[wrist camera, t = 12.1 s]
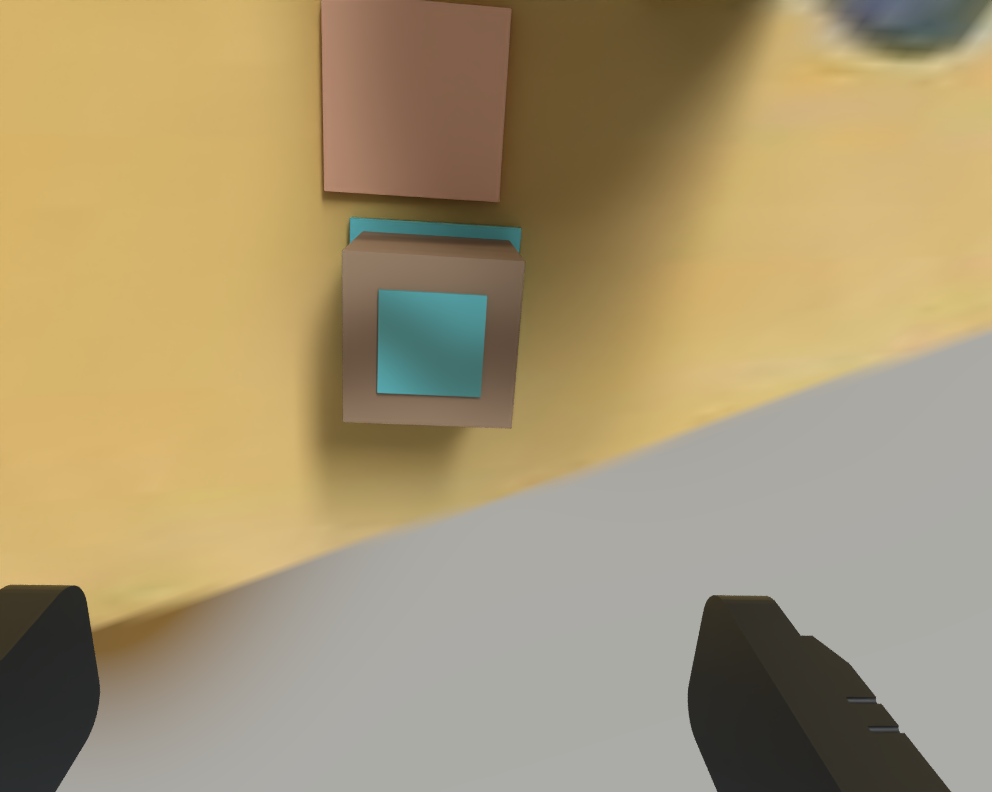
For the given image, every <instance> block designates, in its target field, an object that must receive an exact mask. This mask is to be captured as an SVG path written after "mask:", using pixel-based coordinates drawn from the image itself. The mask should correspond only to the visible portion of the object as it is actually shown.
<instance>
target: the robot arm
mask: <svg viewBox="0 0 992 792" xmlns="http://www.w3.org/2000/svg"><path fill="white" fill-rule="evenodd" d="M99 697H100V685H99V677H98V671H97V664H96V658H95V651H94V646H93V639H92V632H91V626H90V620H89V613H88V607H87V601H86V597H85V595H84V593H83V591H82V589H80V588H79V587H78V586H68V585H8V586H5V587H4V588H2V589H1V590H0V792H55V791H56V790H57V788H58V786H59V785H60V783H61V781H62V780H63V778H64V777H65V775H66V774H67V772H68V770H69V769H70V767H71V765H72V764H73V762H74V760H75V759H76V757H77V755H78V754H79V752H80V751H81V749H82V747H83V746H84V744H85V742H86V740H87V739H88V737H89V734H90V732H91V730H92V727H93V725H94V722H95V718H96V715H97V710H98V705H99ZM688 711H689V718H690V723H691V728H692V732H693V735H694V737H695V740H696V743H697V745H698V747H699V749H700V752H701V754H702V756H703V759H704V761H705V764H706V766H707V768H708V771H709V773H710V775H711V778H712V780H713V782H714V785H715V787H716V789H717V792H951V791H950V790H949V789H948V787H947V786H946V785H945V784H944V782H943V781H942V780H941V779H940V777H939V776H938V775H937V774H936V772H935V771H934V770H933V769H932V767H931V766H930V765H929V764H928V762H927V761H926V760H925V758H924V757H923V756H922V755H921V753H920V752H919V751H918V750H917V748H916V747H915V746H914V745H913V743H912V742H911V741H910V739H909V738H908V737H907V736H906V734H905V733H900V732H899V729H898V724H897V723H896V722H895V721H894V719H893V718H892V717H891V715H890V714H889V713H888V712H887V711H886V709H885V708H884V707H883V705H882V704H877V703H876V697H875V695H874V694H873V693H872V692H871V690H870V689H869V688H868V686H867V685H866V684H865V683H864V681H863V680H862V679H861V678H860V676H859V675H858V674H857V673H856V671H855V670H854V669H853V668H852V666H851V665H850V664H849V663H848V662H846V661H845V660H844V659H842V658H841V657H840V656H838V655H837V654H836V653H834V652H833V651H832V650H830V649H829V648H828V647H826V646H825V645H824V644H823V643H821V642H820V641H819V640H817V639H816V638H814V637H813V636H800V634H799V633H798V632H797V630H796V629H795V627H794V626H793V625H792V623H791V622H790V621H789V619H788V618H787V617H786V615H785V614H784V613H783V611H782V610H781V608H780V607H779V606H778V604H777V603H776V602H775V601H774V600H773V599H772V598H770V597H768V596H725V595H713V596H711V597H710V598H709V599H708V600H707V602H706V604H705V607H704V612H703V616H702V621H701V626H700V631H699V636H698V641H697V646H696V651H695V656H694V661H693V666H692V671H691V676H690V681H689V687H688Z"/></svg>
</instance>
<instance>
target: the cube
mask: <svg viewBox="0 0 992 792" xmlns="http://www.w3.org/2000/svg"><path fill="white" fill-rule="evenodd" d="M524 270H525V260H524V259H523V258H522V256H521V255H520V254H519V252H518V251H517V250H516V248H515V247H514V246H513V244H512V243H511V242H510V240H499V239H483V238H467V237H451V236H435V235H419V234H403V233H387V232H371V231H363V232H361V233H360V234H359V235H358V236H357V237H356V238H355V239H354V240H353V241H352V242H351V243H350V244H349V245H348V246H346V247H345V248H344V249H343V250H342V314H343V422H353V423H380V424H406V425H433V426H459V427H485V428H512V416H513V404H514V392H515V380H516V367H517V355H518V343H519V331H520V319H521V307H522V295H523V283H524Z"/></svg>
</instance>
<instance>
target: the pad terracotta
mask: <svg viewBox="0 0 992 792" xmlns="http://www.w3.org/2000/svg"><path fill="white" fill-rule="evenodd" d="M511 10H512V8H502V7H491V6H480V5H469V4H457V3H446V2H435V1H424V0H321V18H322V81H323V144H324V191H333V192H348V193H364V194H379V195H395V196H410V197H426V198H441V199H457V200H472V201H488V202H499V195H500V179H501V164H502V149H503V133H504V118H505V103H506V87H507V72H508V57H509V41H510V26H511Z"/></svg>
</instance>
